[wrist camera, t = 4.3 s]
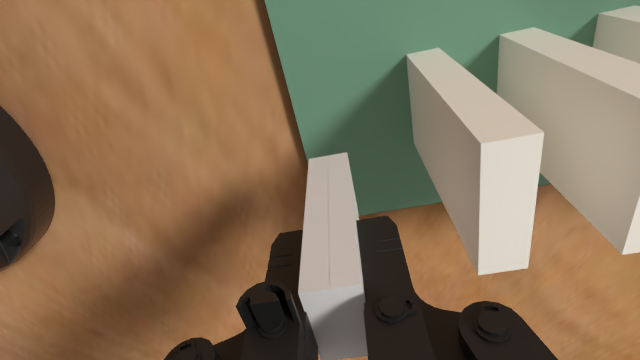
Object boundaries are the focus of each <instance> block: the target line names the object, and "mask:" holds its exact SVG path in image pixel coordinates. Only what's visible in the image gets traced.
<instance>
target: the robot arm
mask: <svg viewBox="0 0 640 360" xmlns="http://www.w3.org/2000/svg"><path fill="white" fill-rule="evenodd" d="M54 204H55V203H54V190H53V186H52V182H51V178H50V175H49V173H48V170H47V168H46V165H45V163H44V161H43V159H42V157H41V156H40V154H39V152H38V150H37V149H36V147H35V146H34V144H33V143H32V141H31V140H30V139H29V137H28V136H27V135H26V133H25V132H24V131H23V130H22V128H21V127H20V126H19V125H18V124H17V123H16V122H15V121H14V119H13V118H12V117H11V116H10V115H9V114H8V113H7V112H6V111H5V110H4V109H3V108H2V107H1V106H0V271H2V270H4V269H6V268H8V267H9V266H11V265H12V264H13V263H15V262H16V261H17V260H19V259H20V258H21V257H22V256H23V255H24V254H25V253H26V252H27V251H28V250H29V249H30V248H31V247H32V246H33V245H34V244H35V243H36V242H37V241H38V240H39V239H40V238H41V237H42V236H43V234H44V233H45V232H46V230H47V229H48V227H49V225H50V223H51V220H52V217H53V213H54ZM236 308H237V310H238V312H239V314H240V316H241V318H242V320H243V322H244V324H245V326H246V328H247V329H245V330H244V331H243V332H241V333H240V334H238V335H236V336H234V337H232V338H229V339H227V340H225V341H222V342H220V343H218V344H215V345H212V343H211V342H210V341H209V340H207V339H204V338H202V337H200V338H191V339H189V340H186V341H184V342H182V343H180V344H179V345H177V346H176V347H175V348H174V349H172V350H171V351H170V352H169V354H168V355H167V356H166V357H165V359H164V360H318V352H319V355H320V358H321V360H335V359H344V358H353V357H362V356H368V360H558V359H557V358H556V357H555V356H554V355H553V353H552V352H551V351H550V350H549V349H548V348H547V346H546V345H545V344H544V343H543V342H542V341H541V340H540V338H539V337H538V336H537V335H536V334H535V333H534V332H533V330H532V329H531V328H530V327H529V326H528V325H527V323H526V322H525V321H524V320H523V319H522V318H521V317H520V316H519V315H518V314H517V313H516V312H514V311H513V310H512V309H511V308H509V307H506V306H504V305H502V304H500V303H496V302H489V301H482V302H476V303H472V304H471V305H469V306H467V307H466V308H464V310H463V311H462V313H460V312H454V311H448V310H442V309H439V308H435V307H433V306H431V305H428V304H427V303H425V302H424V301H423V300H421V299H420V298H419V297H418V295H417V294H416V293H415V291H414V288H413V286H412V282H411V278H410V274H409V270H408V267H407V263H406V259H405V255H404V252H403V248H402V244H401V240H400V236H399V233H398V229H397V225H396V224H395V223H394V222H393V221H392V220H391V219H390V218H389V217H388V216H382V217H376V218H369V219H363V220H359V215H358V208H357V202H356V197H355V192H354V186H353V181H352V176H351V170H350V165H349V160H348V154H347V152H345V153H340V154H334V155H328V156H323V157H317V158H311V159H309V163H308V176H307V188H306V200H305V213H304V225H303V230H298V231H291V232H285V233H280V234H279V235H278V237H277V238H276V239H275V241H274V242H273V244H272V246H271V252H270V260H269V263H268V270H267V273H266V279H265V282H262V283H258V284H256V285H254V286H253V287H251V288H249V289H248V290H247V291H246V292H245V293H244V294H243V295H242V296H241V297H240V299H239V301H238V303H237V305H236Z"/></svg>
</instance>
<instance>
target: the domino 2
mask: <svg viewBox="0 0 640 360" xmlns="http://www.w3.org/2000/svg"><path fill="white" fill-rule="evenodd" d="M497 95H498V96H500V97H501V98H502V99H503V100H505V101H506V102H507V103H508V104H510V105H511V106H512V107H513V108H515V109H516V110H517V111H518V112H520V113H521V114H522V115H523V116H525V117H526V118H527V119H528V120H530V121H531V122H532V123H533V124H535V125H536V126H537V127H538V128H540V129H541V130H542V131H543V132H544V140H543V148H542V156H541V164H540V173H541V174H542V175H543V176H544V177H545V178H546V179H547V180H548V181H549V182H550V183H551V184H552V185H553V186H554V187H555V188H556V189H557V190H558V191H559V192H560V193H561V194H562V195H563V196H564V197H565V198H566V199H567V200H568V201H569V202H570V203H571V204H572V205H573V206H574V207H575V208H576V209H577V210H578V211H579V212H580V213H581V214H582V215H583V216H584V217H585V218H586V219H587V220H588V221H589V222H590V223H591V224H592V225H593V226H594V227H595V228H596V229H597V230H598V231H599V232H600V233H601V234H602V235H603V236H604V237H605V238H606V239H607V240H608V241H609V242H610V243H611V244H612V245H613V246H614V247H615V248H616V249H617V250H618V251H619V252H620V253H621V254H622V255H623V254H630V253H637V252H640V64H639V63H636V62H633V61H630V60H627V59H625V58H622V57H619V56H616V55H613V54H610V53H607V52H604V51H601V50H599V49H596V48H593V47H590V46H587V45H584V44H581V43H578V42H575V41H573V40H570V39H567V38H564V37H561V36H558V35H555V34H552V33H549V32H547V31H544V30H541V29H538V28H535V27H533V28H528V29H523V30H519V31H514V32H509V33H505V34H500V36H499V59H498V81H497Z"/></svg>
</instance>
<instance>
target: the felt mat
mask: <svg viewBox="0 0 640 360" xmlns="http://www.w3.org/2000/svg"><path fill="white" fill-rule="evenodd" d="M264 1H265V4H266V8H267V12H268V16H269V19H270V23H271V27H272V31H273V34H274V38H275V42H276V46H277V49H278V53H279V57H280V61H281V64H282V68H283V72H284V76H285V80H286V83H287V87H288V91H289V95H290V98H291V102H292V106H293V110H294V113H295V117H296V121H297V125H298V128H299V132H300V136H301V140H302V143H303V147H304V151H305V155H306V159H307V162H308V163H309V159H311V158H317V157H323V156H328V155H334V154H340V153H345V152H347V154H348V160H349V165H350V170H351V176H352V181H353V186H354V192H355V197H356V202H357V208H358V215H359V216H362V215H368V214H374V213H380V212H386V211H392V210H398V209H404V208H410V207H416V206H422V205H428V204H434V203H440V202H442V200H441V198H440V196H439V194H438V192H437V190H436V188H435V186H434V184H433V182H432V180H431V177H430V175H429V173H428V171H427V169H426V167H425V165H424V163H423V161H422V159H421V157H420V155H419V153H418V151H417V149H416V147H415V145H414V140H413V128H412V117H411V105H410V93H409V82H408V70H407V59H406V55H407V54H411V53H416V52H421V51H425V50H430V49H435V48H440V49H441V50H442V51H444V52H445V53H446V54H447V55H449V56H450V57H451V58H452V59H454V60H455V61H456V62H457V63H459V64H460V65H461V66H462V67H464V68H465V69H466V70H467V71H469V72H470V73H471V74H472V75H474V76H475V77H476V78H477V79H478V80H480V81H481V82H482V83H483V84H485V85H486V86H487V87H488V88H490V89H491V90H492V91H493V92H495V93H496V94H497V81H498V59H499V36H500V34H505V33H509V32H514V31H519V30H523V29H528V28H533V27H535V28H538V29H541V30H544V31H547V32H549V33H552V34H555V35H558V36H561V37H564V38H567V39H570V40H573V41H575V42H578V43H581V44H584V45H587V46H590V47H593V42H594V37H595V31H596V25H597V19H598V14H599V13H603V12H607V11H612V10H617V9H621V8H626V7H631V6H640V0H264ZM548 184H551V183H550V182H549V181H548V180H547V179H546V178H545V177H544V176H543V175H542V174H541V173H540V172H539V181H538V186H542V185H548Z"/></svg>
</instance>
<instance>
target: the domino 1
mask: <svg viewBox="0 0 640 360" xmlns="http://www.w3.org/2000/svg"><path fill="white" fill-rule="evenodd" d="M406 59H407V70H408V82H409V93H410V105H411V117H412V128H413V140H414V145H415V147H416V149H417V151H418V153H419V155H420V157H421V159H422V161H423V163H424V165H425V167H426V169H427V171H428V173H429V175H430V177H431V180H432V182H433V184H434V186H435V188H436V190H437V192H438V194H439V196H440V198H441V200H442V202H443V204H444V206H445V208H446V210H447V212H448V214H449V216H450V219H451V221H452V223H453V225H454V227H455V229H456V231H457V233H458V235H459V237H460V239H461V241H462V243H463V245H464V247H465V249H466V251H467V253H468V255H469V258H470V260H471V262H472V264H473V266H474V268H475V270H476V272H477V274H478V275H483V274H490V273H497V272H504V271H511V270H518V269H525V268H528V263H529V255H530V246H531V238H532V230H533V222H534V213H535V205H536V197H537V189H538V181H539V172H540V164H541V156H542V148H543V140H544V132H543V131H542V130H541V129H540V128H538V127H537V126H536V125H535V124H533V123H532V122H531V121H530V120H528V119H527V118H526V117H525V116H523V115H522V114H521V113H520V112H518V111H517V110H516V109H515V108H513V107H512V106H511V105H510V104H508V103H507V102H506V101H505V100H503V99H502V98H501V97H500V96H498V95H497V94H496V93H495V92H493V91H492V90H491V89H490V88H488V87H487V86H486V85H485V84H483V83H482V82H481V81H480V80H478V79H477V78H476V77H475V76H474V75H472V74H471V73H470V72H469V71H467V70H466V69H465V68H464V67H462V66H461V65H460V64H459V63H457V62H456V61H455V60H454V59H452V58H451V57H450V56H449V55H447V54H446V53H445V52H444V51H442V50H441V49H440V48H435V49H430V50H425V51H421V52H416V53H411V54H407V55H406Z"/></svg>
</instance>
